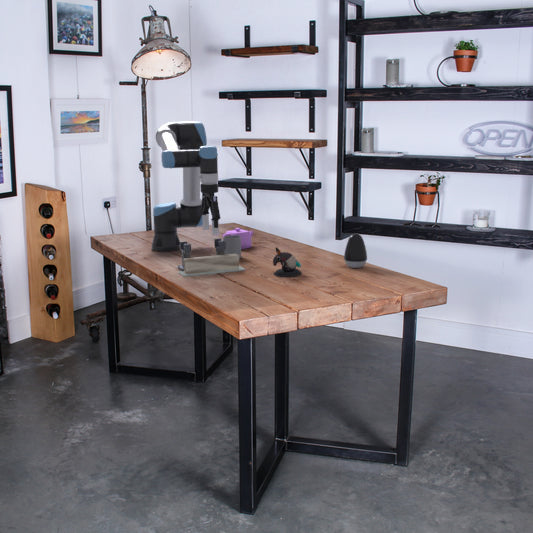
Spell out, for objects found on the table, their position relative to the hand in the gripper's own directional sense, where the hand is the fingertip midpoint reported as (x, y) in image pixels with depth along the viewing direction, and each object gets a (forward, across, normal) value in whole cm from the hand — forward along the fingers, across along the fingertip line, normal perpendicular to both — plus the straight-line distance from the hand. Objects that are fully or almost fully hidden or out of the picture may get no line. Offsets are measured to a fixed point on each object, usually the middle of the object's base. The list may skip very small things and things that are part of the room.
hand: (210, 232), depth 277 cm
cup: (+18, -23, +18) cm, 35 cm away
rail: (+17, +1, 0) cm, 17 cm away
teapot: (+19, -44, +29) cm, 56 cm away
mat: (+17, +1, 0) cm, 17 cm away
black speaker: (+17, +20, +61) cm, 66 cm away
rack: (+18, -8, -1) cm, 19 cm away
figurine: (+17, +19, +28) cm, 38 cm away
